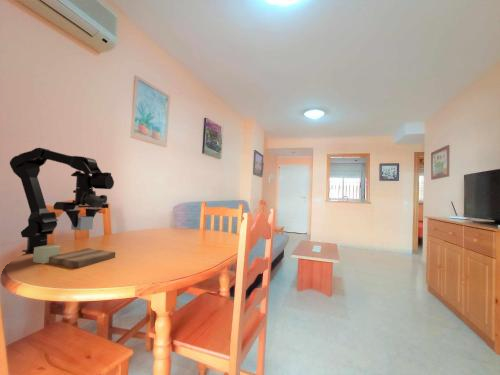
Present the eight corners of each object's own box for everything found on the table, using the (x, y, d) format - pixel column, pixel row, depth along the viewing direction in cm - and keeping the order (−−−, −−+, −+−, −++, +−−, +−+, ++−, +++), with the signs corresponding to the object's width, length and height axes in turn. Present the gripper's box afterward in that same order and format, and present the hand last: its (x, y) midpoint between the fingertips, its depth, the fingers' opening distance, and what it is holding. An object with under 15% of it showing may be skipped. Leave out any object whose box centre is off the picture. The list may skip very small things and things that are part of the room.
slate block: (71, 229, 91) (71, 216, 91) (83, 227, 96) (84, 215, 96) (80, 230, 90) (81, 217, 90) (92, 228, 95) (93, 216, 95)
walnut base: (49, 262, 79) (49, 256, 79) (87, 253, 93) (88, 248, 93) (78, 268, 75) (79, 262, 75) (115, 257, 89) (115, 252, 89)
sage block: (32, 261, 80) (34, 247, 80) (49, 258, 84) (50, 244, 85) (42, 263, 78) (44, 249, 78) (58, 260, 83) (59, 246, 83)
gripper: (76, 188, 82) (73, 231, 82) (119, 189, 100) (117, 225, 100) (54, 186, 85) (51, 228, 85) (99, 188, 103) (97, 223, 103)
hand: (82, 226), depth 93 cm, fingers closed on slate block, 5 cm apart
